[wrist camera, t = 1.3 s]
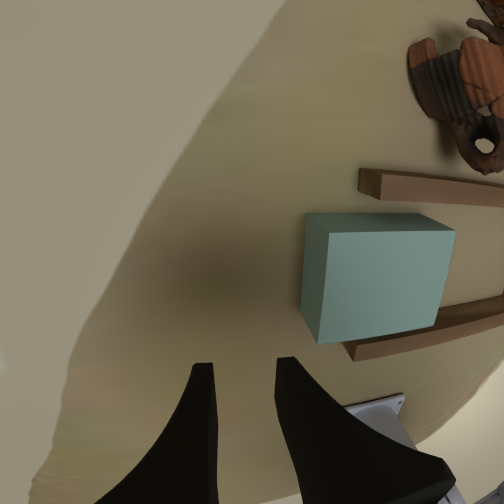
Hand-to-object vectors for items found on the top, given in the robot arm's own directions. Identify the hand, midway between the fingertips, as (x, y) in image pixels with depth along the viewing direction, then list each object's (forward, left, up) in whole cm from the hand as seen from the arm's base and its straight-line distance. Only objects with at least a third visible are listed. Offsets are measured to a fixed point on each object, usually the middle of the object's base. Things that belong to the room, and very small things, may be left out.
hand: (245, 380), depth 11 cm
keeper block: (0, -10, -11) cm, 14 cm away
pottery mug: (+13, -17, -11) cm, 24 cm away
